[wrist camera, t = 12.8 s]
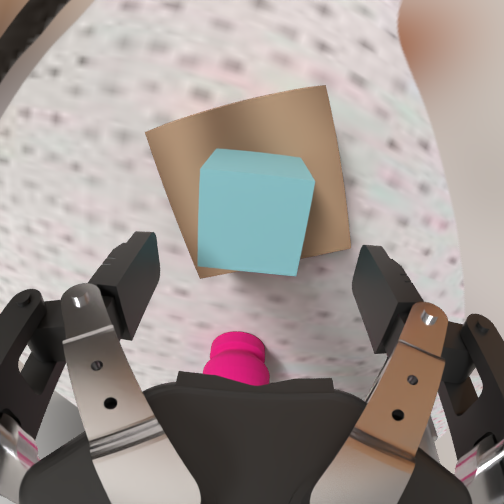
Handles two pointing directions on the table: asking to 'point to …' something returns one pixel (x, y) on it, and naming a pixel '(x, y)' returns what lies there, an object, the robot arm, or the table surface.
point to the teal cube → (253, 211)
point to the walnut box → (265, 141)
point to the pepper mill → (238, 359)
